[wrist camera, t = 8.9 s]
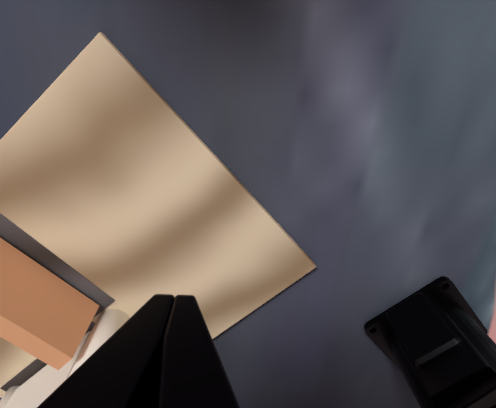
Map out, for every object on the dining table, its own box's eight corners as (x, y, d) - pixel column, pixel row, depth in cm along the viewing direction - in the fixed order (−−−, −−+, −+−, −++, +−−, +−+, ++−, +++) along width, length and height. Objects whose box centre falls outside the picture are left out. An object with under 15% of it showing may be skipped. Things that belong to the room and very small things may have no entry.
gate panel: (-43, 202, 18) (-132, 250, 13) (102, 302, 21) (69, 368, 17) (-61, 223, 18) (-152, 277, 14) (84, 318, 21) (47, 387, 17)
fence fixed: (138, 316, 22) (111, 392, 17) (27, 401, 25) (-23, 487, 20) (114, 299, 22) (80, 372, 17) (4, 387, 24) (-55, 473, 19)
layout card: (314, 263, 21) (316, 267, 21) (73, 431, 27) (71, 437, 26) (102, 32, 16) (99, 32, 15) (-151, 306, 21) (-158, 311, 21)
